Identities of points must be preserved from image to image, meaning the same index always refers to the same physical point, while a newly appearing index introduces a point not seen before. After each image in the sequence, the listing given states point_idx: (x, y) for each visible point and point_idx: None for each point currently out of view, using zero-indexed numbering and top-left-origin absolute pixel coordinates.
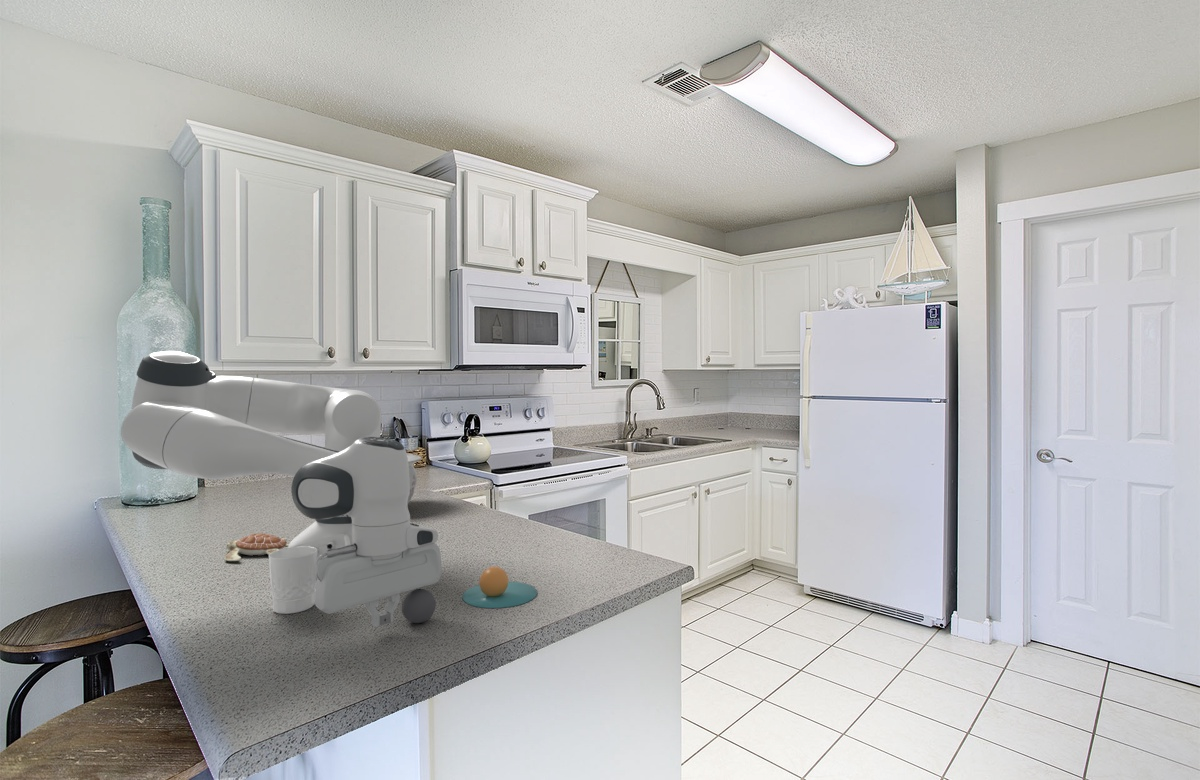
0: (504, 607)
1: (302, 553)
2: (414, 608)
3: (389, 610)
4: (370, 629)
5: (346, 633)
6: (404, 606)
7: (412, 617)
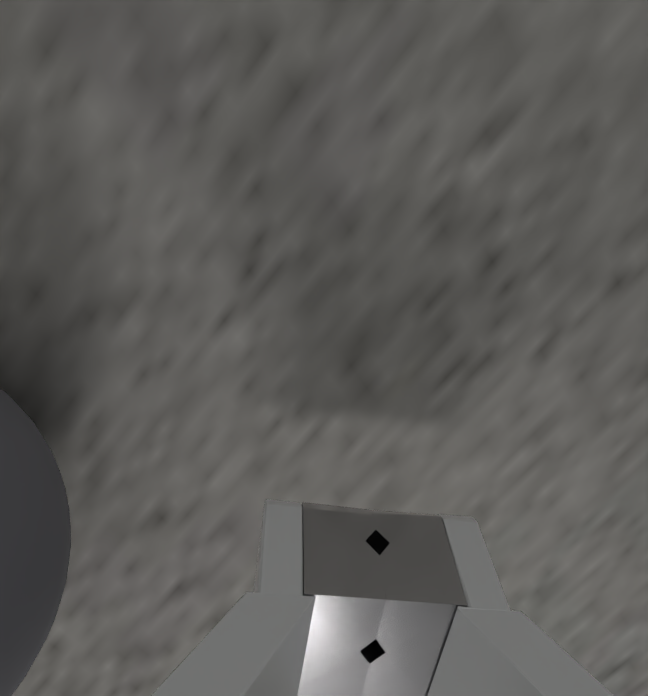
0: None
1: None
2: None
3: (300, 637)
4: None
5: None
6: (30, 627)
7: (27, 429)
